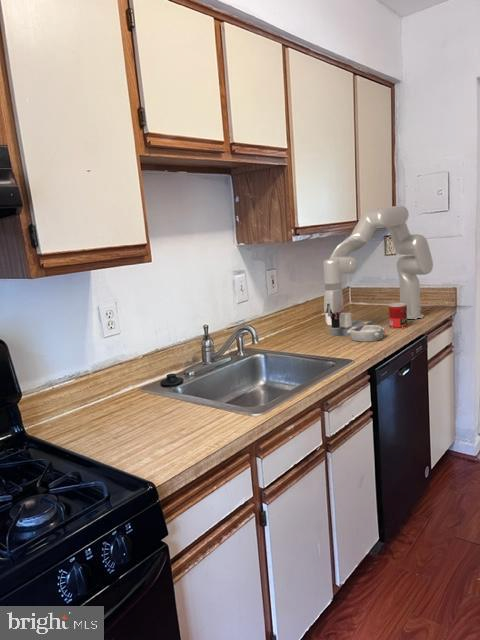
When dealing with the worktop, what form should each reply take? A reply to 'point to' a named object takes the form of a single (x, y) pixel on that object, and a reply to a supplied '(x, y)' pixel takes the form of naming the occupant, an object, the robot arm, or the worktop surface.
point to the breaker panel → (356, 326)
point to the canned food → (398, 315)
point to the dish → (367, 333)
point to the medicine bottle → (328, 319)
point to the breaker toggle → (345, 320)
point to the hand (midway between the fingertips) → (335, 327)
